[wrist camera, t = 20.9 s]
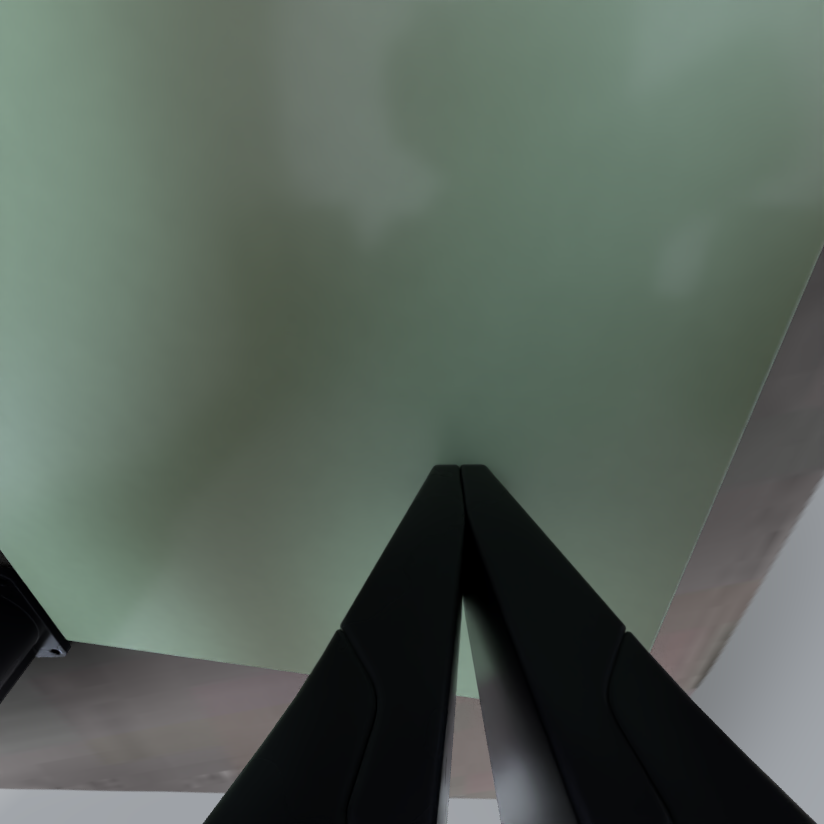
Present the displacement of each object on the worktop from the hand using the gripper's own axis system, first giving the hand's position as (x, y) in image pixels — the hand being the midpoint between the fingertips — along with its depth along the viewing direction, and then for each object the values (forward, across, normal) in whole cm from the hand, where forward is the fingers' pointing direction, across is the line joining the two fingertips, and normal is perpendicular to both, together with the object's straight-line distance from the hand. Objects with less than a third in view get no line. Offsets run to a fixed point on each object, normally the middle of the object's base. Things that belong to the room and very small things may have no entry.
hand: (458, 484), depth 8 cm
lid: (+1, +3, 0) cm, 3 cm away
